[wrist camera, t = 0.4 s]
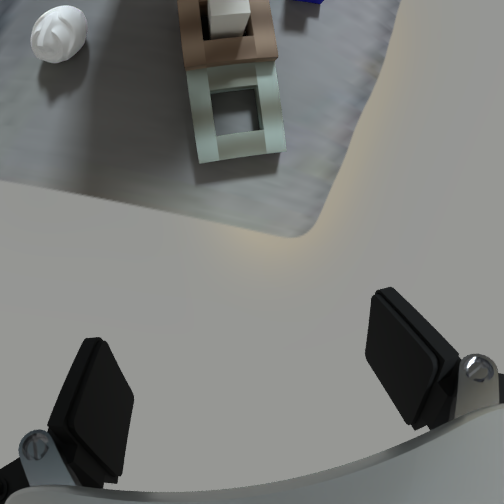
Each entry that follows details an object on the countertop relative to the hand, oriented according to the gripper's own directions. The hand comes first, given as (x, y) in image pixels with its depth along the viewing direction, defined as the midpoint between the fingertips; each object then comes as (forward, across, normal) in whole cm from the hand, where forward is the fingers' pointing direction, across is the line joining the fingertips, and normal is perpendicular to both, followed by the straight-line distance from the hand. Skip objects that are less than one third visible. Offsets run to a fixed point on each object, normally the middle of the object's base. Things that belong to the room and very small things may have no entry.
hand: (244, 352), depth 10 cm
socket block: (+30, -3, -15) cm, 33 cm away
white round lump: (+30, +17, -25) cm, 42 cm away
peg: (+30, -3, -20) cm, 36 cm away
